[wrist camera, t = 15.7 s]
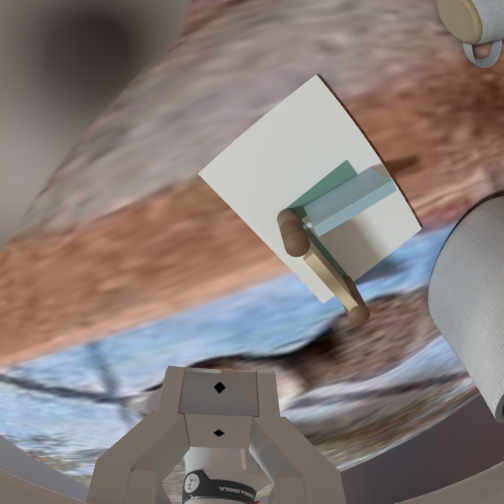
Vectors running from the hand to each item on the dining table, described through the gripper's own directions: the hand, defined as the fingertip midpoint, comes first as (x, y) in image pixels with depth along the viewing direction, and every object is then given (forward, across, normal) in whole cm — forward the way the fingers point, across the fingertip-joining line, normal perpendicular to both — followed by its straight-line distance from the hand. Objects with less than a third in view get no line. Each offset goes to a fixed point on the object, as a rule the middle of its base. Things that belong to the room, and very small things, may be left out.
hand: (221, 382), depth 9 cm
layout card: (+25, -9, +2) cm, 27 cm away
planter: (+25, -36, +9) cm, 45 cm away
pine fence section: (+25, -10, +8) cm, 28 cm away
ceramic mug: (+26, -25, -22) cm, 42 cm away
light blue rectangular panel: (+24, -11, +1) cm, 26 cm away
